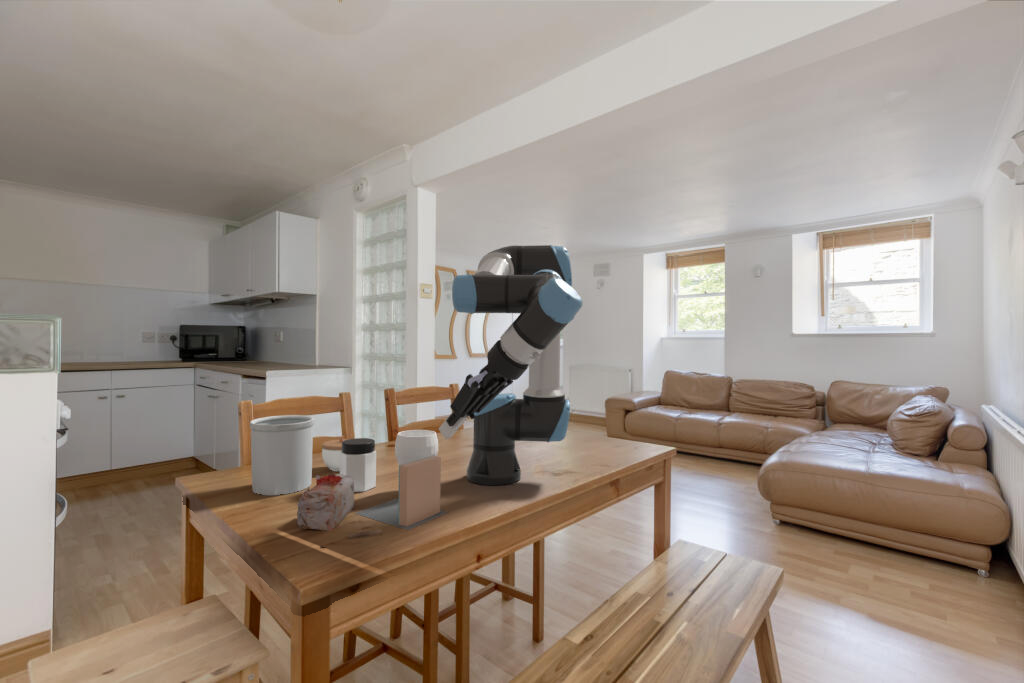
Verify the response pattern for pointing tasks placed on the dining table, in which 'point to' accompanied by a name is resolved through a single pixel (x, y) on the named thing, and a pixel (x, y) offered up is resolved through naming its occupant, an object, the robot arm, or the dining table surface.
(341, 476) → the food item
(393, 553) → the dining table surface
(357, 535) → the spatula
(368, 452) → the jar
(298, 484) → the utensil holder
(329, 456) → the lidded jar
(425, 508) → the tile
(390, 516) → the mat
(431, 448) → the cup
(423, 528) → the dining table surface
